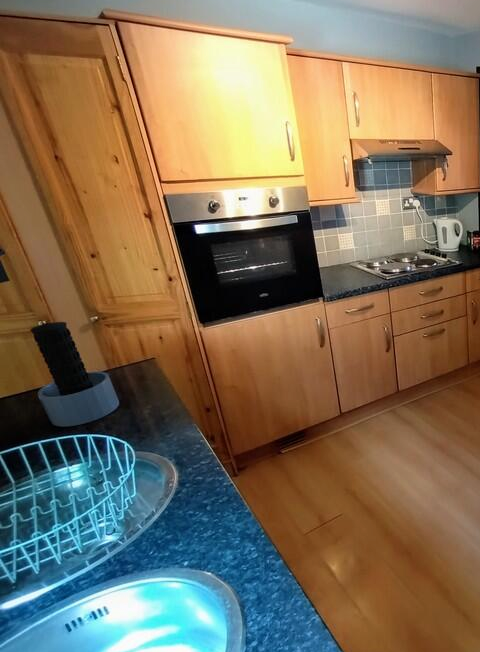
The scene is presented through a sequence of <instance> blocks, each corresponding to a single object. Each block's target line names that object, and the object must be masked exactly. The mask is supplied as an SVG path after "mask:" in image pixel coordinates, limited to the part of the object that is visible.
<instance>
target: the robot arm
mask: <svg viewBox="0 0 480 652" xmlns="http://www.w3.org/2000/svg"><path fill="white" fill-rule="evenodd" d="M3 255H6V251H5V249H3V247H2V246H1V245H0V257H1V256H3ZM10 280H11V279H10V278H9V276H8V273H7V272H6V269H5V267H4V264H3V262H2V260H1V259H0V284H2V283H3V284H4V283H8V282H11V281H10Z"/></svg>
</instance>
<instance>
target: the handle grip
mask: <svg viewBox="0 0 480 652" xmlns="http://www.w3.org/2000/svg"><path fill="white" fill-rule="evenodd" d="M67 323H68V322H66V321H54V322H53V321H52V322H46V323H42V324H40V325H36V326H34V327H32V328H31V329H30V332H31V333H32V334H33V339H34V341H35V342H36V343H37V344H36V346H37V347H38V351H39V352H40V353H41V354H42V358H44V359H43V360H44V363H45V365H47V366H46V367H47V369H49V374H50V375H51V376H52V378H51V379H53V382H55V384H56V385H57V389H59V393H60V395H61V396H65V395H70V394H74V393H78V392H81V391H84V390H87V389H90V388H92V387H93V384H92V382H91V381H90V378H89V375H88V373H87V372H88V371H87V368H86V367H85V363H84V362H83V361H82V359H83V358H82V357H81V354H80V352H79V350H78V347H77V346H76V342H75V340H74V339H73V336H72V333H71V330H70V329H69V328H68V327H67V325H68V324H67Z"/></svg>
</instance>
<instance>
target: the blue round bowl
mask: <svg viewBox="0 0 480 652" xmlns="http://www.w3.org/2000/svg"><path fill="white" fill-rule="evenodd" d="M86 372H87V373H88V375H89V378H90V381H91V382H92V384H93V387H92V388H90V389H87V390H84V391H81V392H78V393H74V394H70V395H65V396H61V395H60V393H59V389H57V385H56V384H55V382H54V381H52V382H50V383H47V384H46V385H44V386H43V387H41V388H40V389H39V390H38V391H37V396H38V398H39V401H40V403H41V405H42V407H43V409H44V411H45V413H46V415H47V417H48V419H49V421H50V422H51V424H52V425H54V426H55V427H74V426H79V425H83V424H88V423H90V422H94V421H96V420H99V419H102V418H104V417H105V416H107V415H109V414H111V413H112V412H114V411H115V410H116V409H118V407H119V406H120V400H119V397H118V395H117V393H116V390H115V387H114V386H113V383H112V380H111V378H110V375H109V373H106V372H105V371H86Z"/></svg>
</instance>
